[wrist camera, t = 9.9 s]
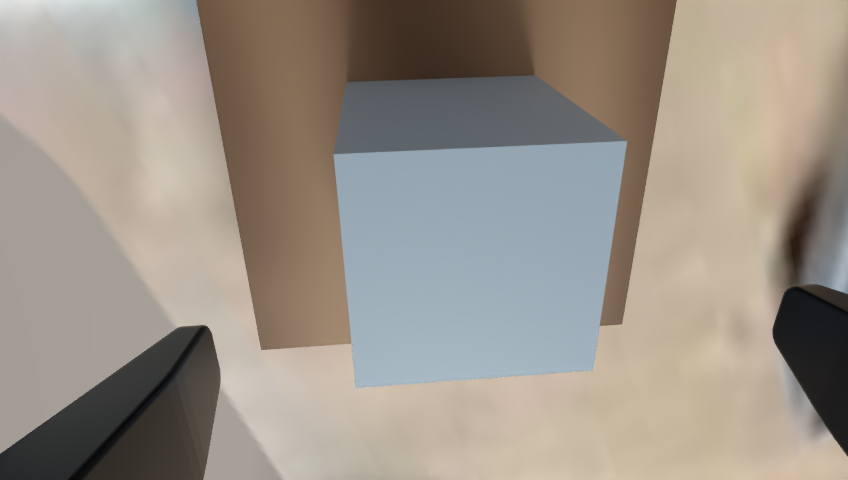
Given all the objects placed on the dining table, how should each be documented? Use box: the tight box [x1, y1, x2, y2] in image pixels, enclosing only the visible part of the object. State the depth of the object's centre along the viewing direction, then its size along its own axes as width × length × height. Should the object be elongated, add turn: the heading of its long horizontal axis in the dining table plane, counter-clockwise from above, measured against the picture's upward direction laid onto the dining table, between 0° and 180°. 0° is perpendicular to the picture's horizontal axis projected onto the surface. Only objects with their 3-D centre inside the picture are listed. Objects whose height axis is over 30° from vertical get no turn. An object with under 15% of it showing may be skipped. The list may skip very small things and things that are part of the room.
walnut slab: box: [196, 0, 677, 350], centre depth 18 cm, size 12×12×4 cm
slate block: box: [334, 75, 627, 388], centre depth 13 cm, size 5×5×6 cm
